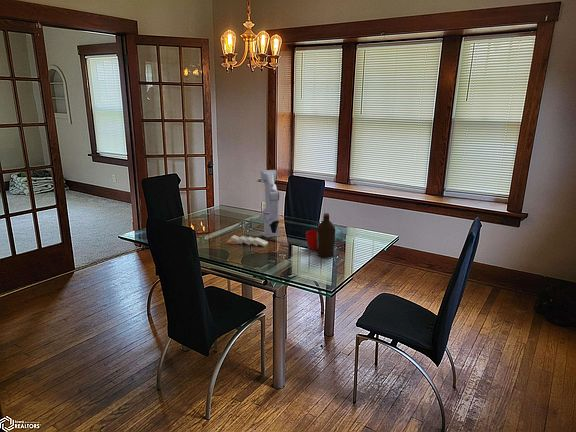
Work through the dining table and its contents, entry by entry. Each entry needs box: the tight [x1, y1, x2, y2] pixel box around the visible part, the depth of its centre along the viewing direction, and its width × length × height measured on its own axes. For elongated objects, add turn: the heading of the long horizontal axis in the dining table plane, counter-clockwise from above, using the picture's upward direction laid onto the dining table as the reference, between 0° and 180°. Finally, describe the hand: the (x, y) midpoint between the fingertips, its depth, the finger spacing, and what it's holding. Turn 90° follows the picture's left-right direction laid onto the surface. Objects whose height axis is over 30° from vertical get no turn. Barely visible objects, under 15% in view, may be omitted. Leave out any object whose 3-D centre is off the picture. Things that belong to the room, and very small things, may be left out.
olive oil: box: [316, 212, 336, 259], centre depth 233 cm, size 11×11×25 cm
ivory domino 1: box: [230, 234, 245, 245], centre depth 258 cm, size 2×5×8 cm
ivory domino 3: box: [246, 236, 260, 247], centre depth 255 cm, size 2×5×8 cm
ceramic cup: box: [305, 229, 317, 252], centre depth 248 cm, size 13×17×10 cm
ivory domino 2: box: [239, 235, 253, 246], centre depth 257 cm, size 2×5×8 cm
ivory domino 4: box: [253, 237, 269, 248], centre depth 254 cm, size 2×5×8 cm
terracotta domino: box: [226, 238, 240, 245], centre depth 259 cm, size 2×5×8 cm
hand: (273, 232), depth 249 cm, fingers closed
